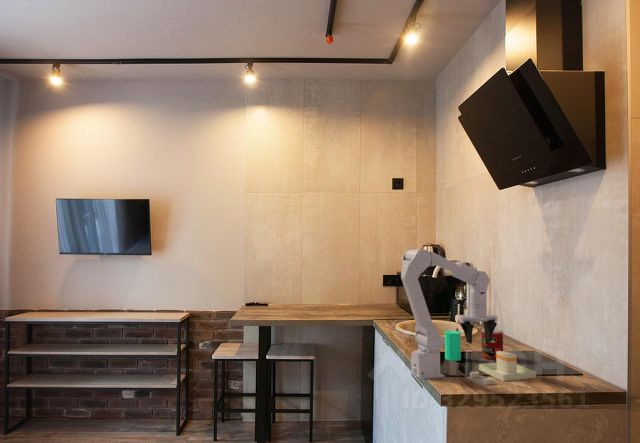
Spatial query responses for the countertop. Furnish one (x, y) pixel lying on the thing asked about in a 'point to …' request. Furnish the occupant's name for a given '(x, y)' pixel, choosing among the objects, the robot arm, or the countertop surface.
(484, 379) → the fuse holder
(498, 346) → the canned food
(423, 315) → the robot arm
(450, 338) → the candle
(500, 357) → the block
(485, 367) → the tray
